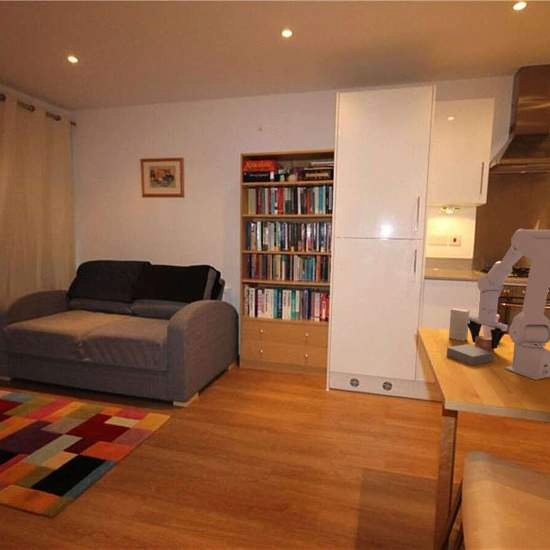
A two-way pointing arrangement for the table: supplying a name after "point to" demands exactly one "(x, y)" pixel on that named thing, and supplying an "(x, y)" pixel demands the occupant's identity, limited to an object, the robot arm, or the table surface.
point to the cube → (483, 343)
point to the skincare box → (459, 324)
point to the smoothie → (489, 328)
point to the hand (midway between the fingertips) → (484, 345)
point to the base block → (470, 354)
